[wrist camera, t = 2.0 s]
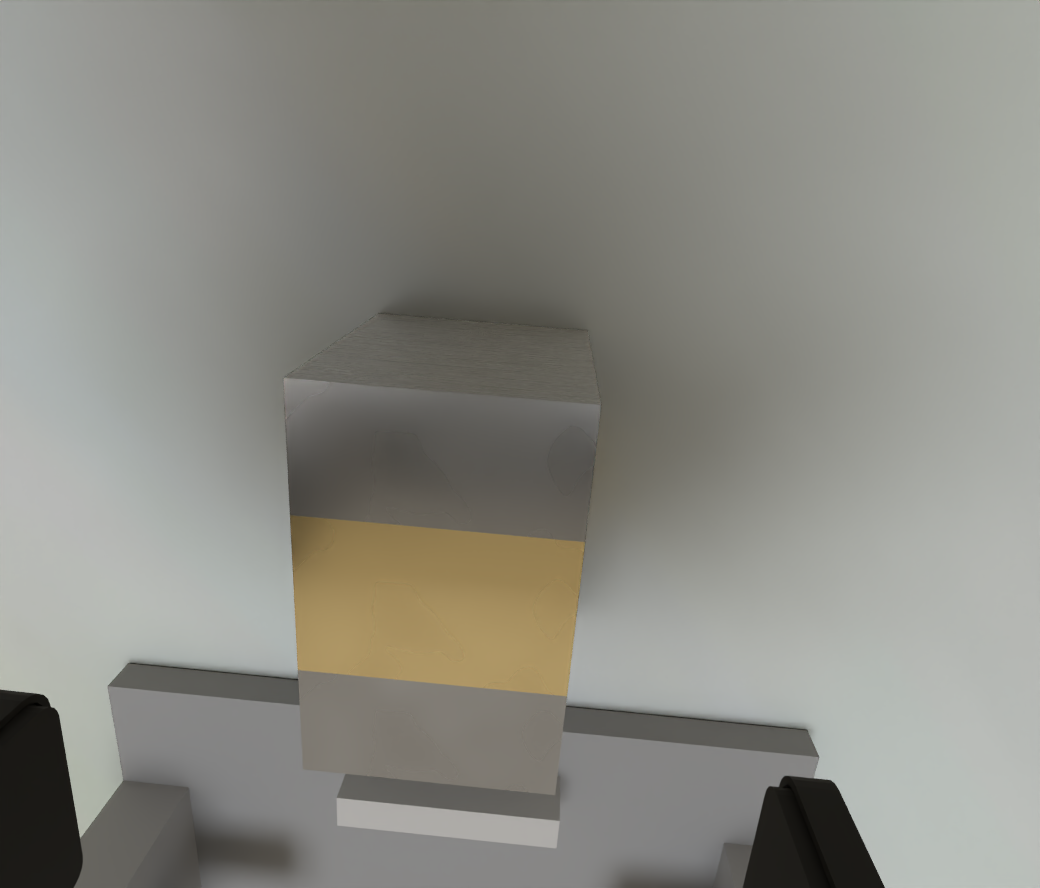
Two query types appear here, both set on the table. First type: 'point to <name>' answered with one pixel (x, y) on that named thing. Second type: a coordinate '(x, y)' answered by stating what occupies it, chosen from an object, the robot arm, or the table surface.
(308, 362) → the coupler
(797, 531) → the table surface
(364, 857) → the shaft stand
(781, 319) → the table surface
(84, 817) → the table surface
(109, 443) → the table surface
